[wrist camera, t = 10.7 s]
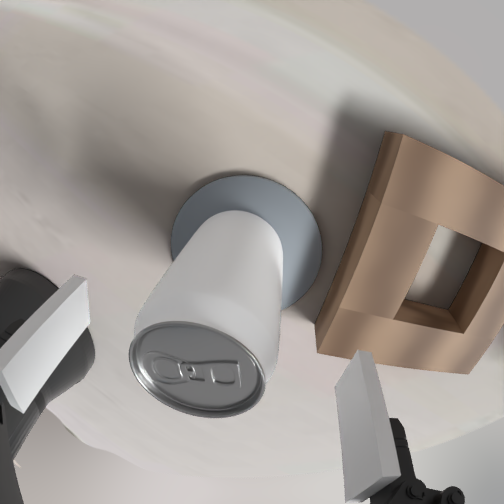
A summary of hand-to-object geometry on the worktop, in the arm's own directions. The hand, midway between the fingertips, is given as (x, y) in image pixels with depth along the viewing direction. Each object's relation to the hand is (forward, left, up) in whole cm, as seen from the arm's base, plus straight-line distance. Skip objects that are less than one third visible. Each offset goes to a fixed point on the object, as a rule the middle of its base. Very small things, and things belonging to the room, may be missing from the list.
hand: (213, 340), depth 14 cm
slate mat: (0, 0, -10) cm, 10 cm away
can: (0, 0, -10) cm, 10 cm away
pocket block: (+15, +3, -10) cm, 19 cm away
